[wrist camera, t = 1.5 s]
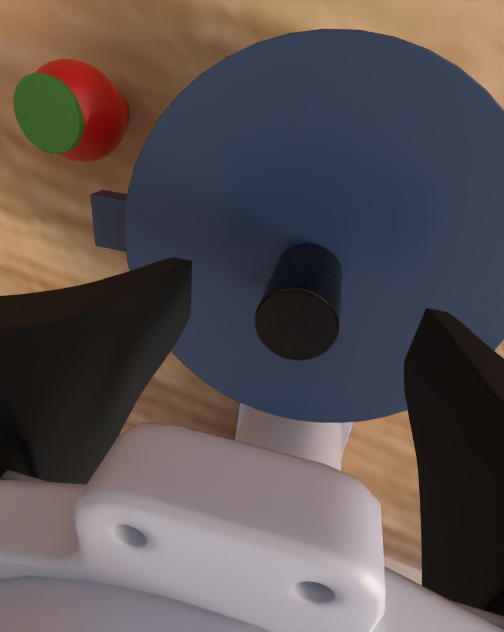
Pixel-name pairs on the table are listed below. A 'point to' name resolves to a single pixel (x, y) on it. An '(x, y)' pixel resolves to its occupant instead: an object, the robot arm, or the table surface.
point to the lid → (324, 217)
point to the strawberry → (71, 110)
